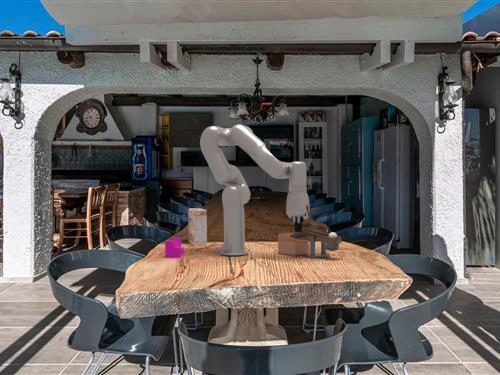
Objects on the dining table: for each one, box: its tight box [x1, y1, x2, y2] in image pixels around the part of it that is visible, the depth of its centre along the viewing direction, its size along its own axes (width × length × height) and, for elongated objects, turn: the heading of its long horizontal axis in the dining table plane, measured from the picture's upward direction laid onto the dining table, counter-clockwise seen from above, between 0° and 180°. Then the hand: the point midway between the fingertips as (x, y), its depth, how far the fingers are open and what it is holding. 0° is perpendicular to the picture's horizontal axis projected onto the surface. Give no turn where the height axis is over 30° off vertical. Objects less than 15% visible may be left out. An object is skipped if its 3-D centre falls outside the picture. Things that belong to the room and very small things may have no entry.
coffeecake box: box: [187, 207, 208, 247], centre depth 244 cm, size 15×7×20 cm, turn 17°
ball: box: [328, 231, 338, 238], centre depth 201 cm, size 4×4×4 cm
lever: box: [290, 227, 342, 252], centre depth 204 cm, size 13×20×6 cm, turn 44°
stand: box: [305, 236, 331, 260], centre depth 206 cm, size 10×5×10 cm, turn 134°
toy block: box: [164, 236, 185, 259], centre depth 215 cm, size 15×6×8 cm, turn 176°
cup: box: [277, 232, 310, 257], centre depth 217 cm, size 10×10×9 cm
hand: (298, 231), depth 206 cm, fingers closed
